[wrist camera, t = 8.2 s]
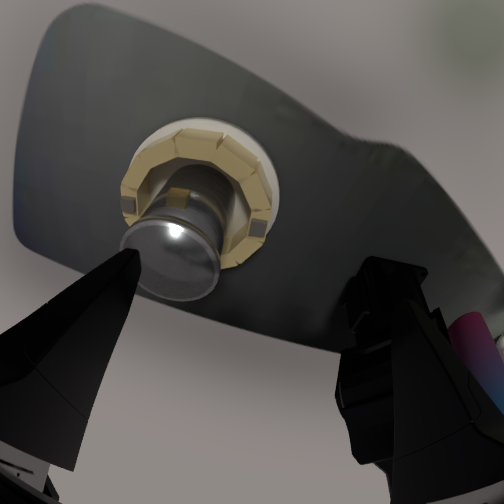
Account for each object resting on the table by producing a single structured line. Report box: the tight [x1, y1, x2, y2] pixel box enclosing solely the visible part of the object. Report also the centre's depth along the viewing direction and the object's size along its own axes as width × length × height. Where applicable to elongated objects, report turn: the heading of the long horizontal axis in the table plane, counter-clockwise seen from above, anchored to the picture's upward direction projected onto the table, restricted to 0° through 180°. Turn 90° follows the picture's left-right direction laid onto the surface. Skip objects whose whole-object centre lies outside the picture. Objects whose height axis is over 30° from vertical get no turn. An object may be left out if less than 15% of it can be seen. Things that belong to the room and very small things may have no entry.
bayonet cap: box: [120, 164, 236, 301], centre depth 17 cm, size 6×5×7 cm
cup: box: [448, 312, 504, 415], centre depth 22 cm, size 7×7×15 cm
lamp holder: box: [120, 116, 279, 269], centre depth 19 cm, size 11×11×4 cm
